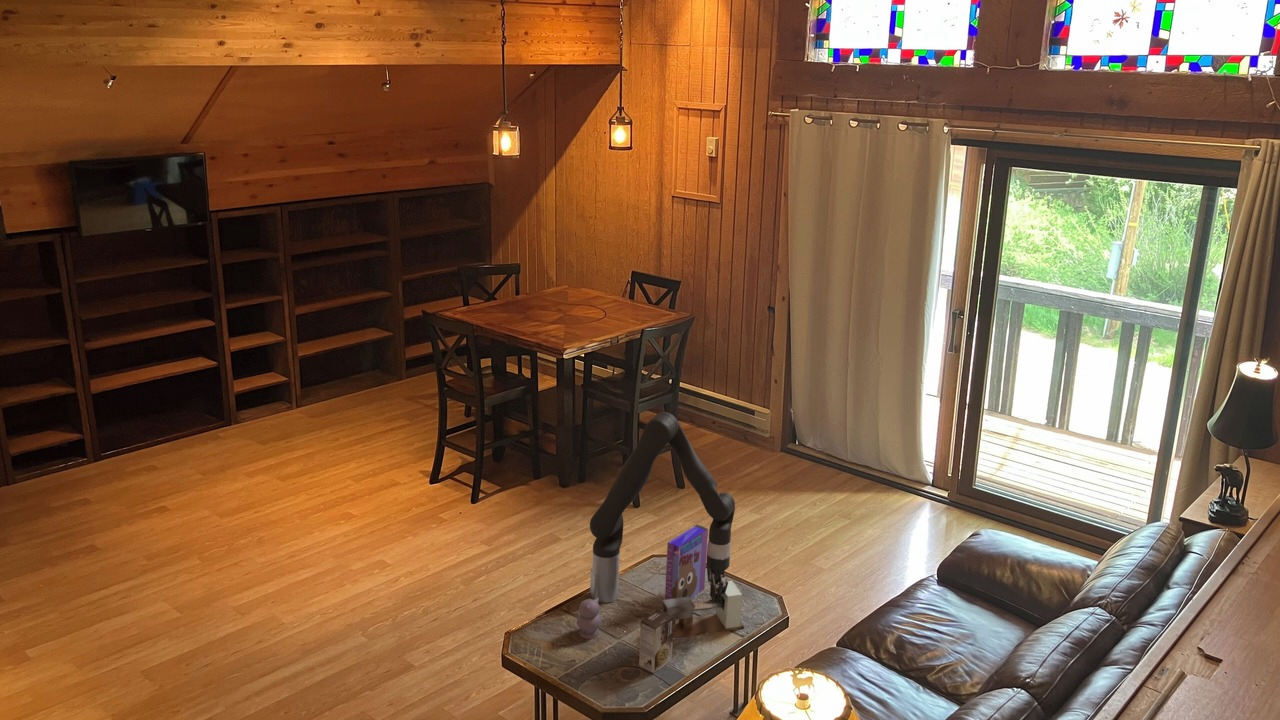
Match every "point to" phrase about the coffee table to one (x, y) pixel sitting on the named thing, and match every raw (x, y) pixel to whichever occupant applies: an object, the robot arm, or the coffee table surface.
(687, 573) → the cereal box
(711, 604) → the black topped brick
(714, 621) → the board
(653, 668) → the coffee box
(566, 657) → the coffee table surface
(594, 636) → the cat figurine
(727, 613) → the socket block
